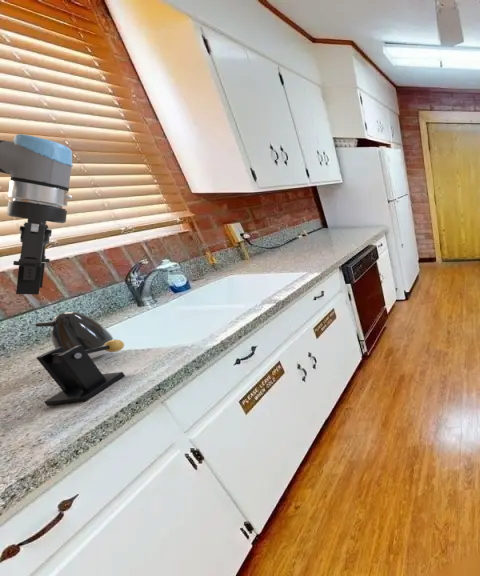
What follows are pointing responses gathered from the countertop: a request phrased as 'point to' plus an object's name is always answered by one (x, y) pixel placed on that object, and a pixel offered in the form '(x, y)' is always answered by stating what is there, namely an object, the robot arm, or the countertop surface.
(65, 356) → the black lever base
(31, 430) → the countertop surface
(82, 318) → the dark glossy oval piece
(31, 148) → the robot arm
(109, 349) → the tap lever
